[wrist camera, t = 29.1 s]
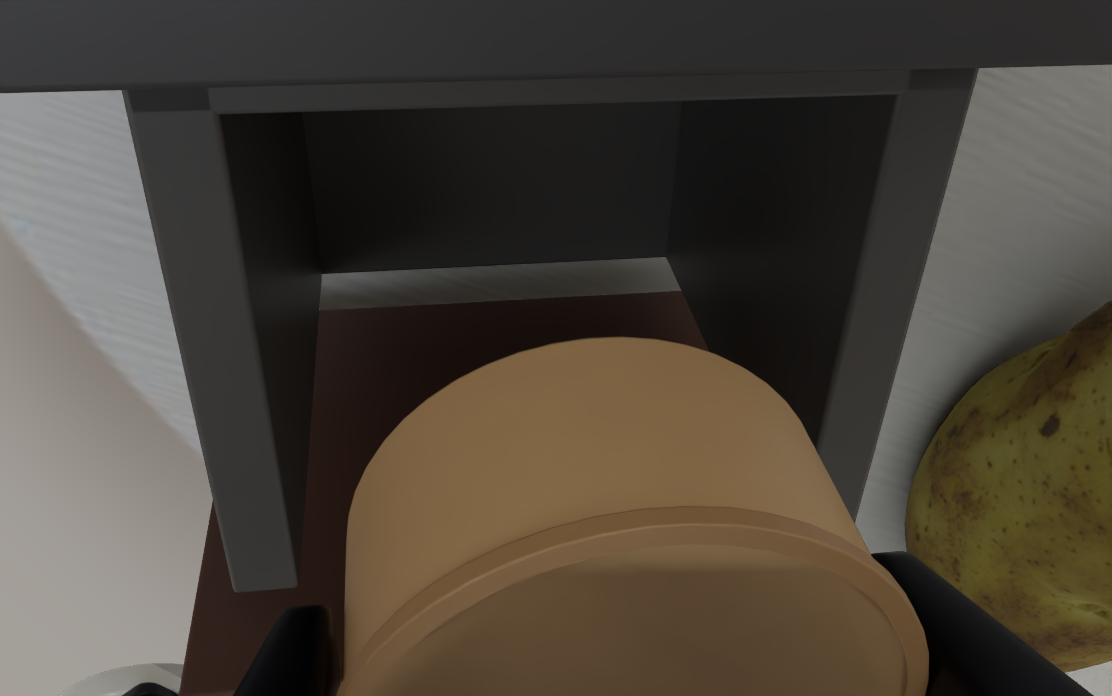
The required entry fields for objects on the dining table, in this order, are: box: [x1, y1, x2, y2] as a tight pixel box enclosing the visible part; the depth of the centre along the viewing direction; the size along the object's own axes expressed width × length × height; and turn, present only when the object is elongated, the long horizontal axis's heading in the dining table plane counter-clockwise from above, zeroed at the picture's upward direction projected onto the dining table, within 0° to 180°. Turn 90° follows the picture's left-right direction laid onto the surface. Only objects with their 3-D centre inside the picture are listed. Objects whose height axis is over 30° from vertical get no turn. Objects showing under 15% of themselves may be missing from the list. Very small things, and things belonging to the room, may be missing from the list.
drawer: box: [122, 68, 979, 696], centre depth 17 cm, size 14×10×9 cm
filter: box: [336, 336, 929, 696], centre depth 10 cm, size 5×5×2 cm
